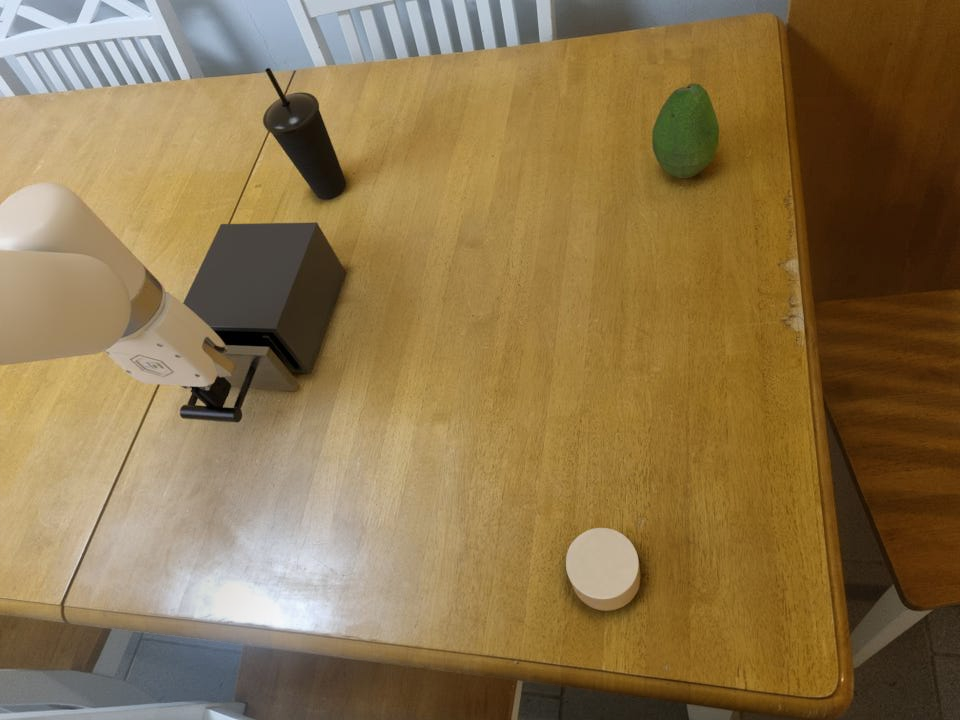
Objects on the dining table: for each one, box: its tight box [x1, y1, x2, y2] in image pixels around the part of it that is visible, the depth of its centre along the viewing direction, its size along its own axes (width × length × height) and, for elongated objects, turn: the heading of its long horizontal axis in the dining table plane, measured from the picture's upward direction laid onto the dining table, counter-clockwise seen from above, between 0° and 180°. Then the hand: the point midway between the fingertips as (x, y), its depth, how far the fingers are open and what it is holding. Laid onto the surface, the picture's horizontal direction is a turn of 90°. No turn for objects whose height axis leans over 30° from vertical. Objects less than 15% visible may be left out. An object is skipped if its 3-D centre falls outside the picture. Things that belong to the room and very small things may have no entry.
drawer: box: [179, 330, 300, 424], centre depth 87 cm, size 21×12×8 cm, turn 169°
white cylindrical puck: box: [565, 527, 642, 612], centre depth 66 cm, size 6×6×4 cm
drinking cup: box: [262, 67, 347, 201], centre depth 98 cm, size 8×8×20 cm
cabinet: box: [182, 222, 347, 375], centre depth 90 cm, size 16×14×10 cm
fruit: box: [651, 82, 720, 179], centre depth 88 cm, size 8×8×12 cm
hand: (220, 396), depth 83 cm, fingers closed
